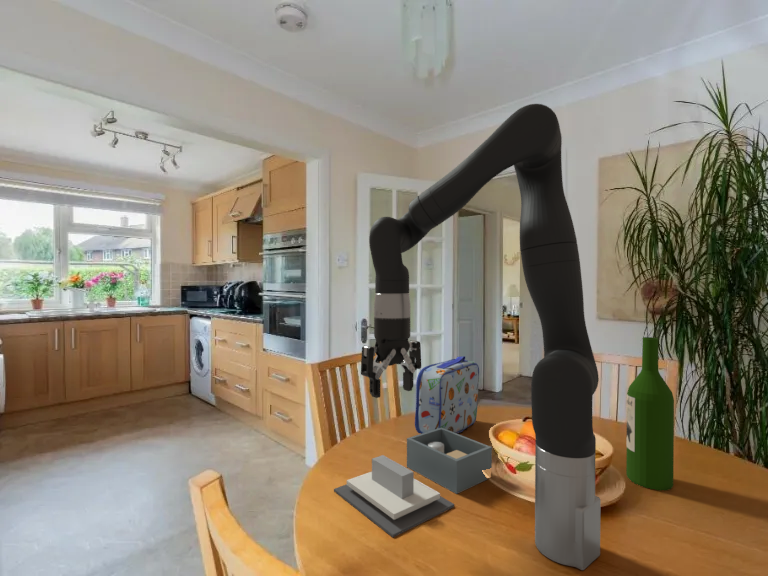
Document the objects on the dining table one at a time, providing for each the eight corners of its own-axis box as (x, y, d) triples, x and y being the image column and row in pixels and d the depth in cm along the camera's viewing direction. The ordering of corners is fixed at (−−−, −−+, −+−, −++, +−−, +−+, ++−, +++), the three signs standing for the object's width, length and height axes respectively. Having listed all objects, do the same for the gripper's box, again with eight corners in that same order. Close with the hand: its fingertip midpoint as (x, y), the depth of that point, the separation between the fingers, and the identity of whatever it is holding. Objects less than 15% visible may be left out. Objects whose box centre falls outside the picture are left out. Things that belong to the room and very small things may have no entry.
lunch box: (454, 414, 137) (454, 350, 137) (483, 421, 131) (483, 353, 131) (410, 439, 115) (410, 363, 115) (442, 448, 109) (442, 367, 109)
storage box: (491, 477, 92) (491, 447, 92) (456, 494, 85) (456, 461, 85) (441, 454, 105) (441, 427, 105) (406, 466, 98) (406, 438, 98)
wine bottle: (620, 470, 96) (621, 334, 96) (661, 473, 94) (663, 336, 94) (635, 488, 88) (636, 340, 87) (681, 492, 86) (683, 341, 85)
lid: (440, 503, 81) (440, 471, 80) (394, 525, 73) (394, 489, 73) (390, 473, 93) (390, 445, 93) (346, 489, 86) (346, 459, 86)
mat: (454, 506, 80) (454, 504, 80) (392, 537, 70) (392, 534, 70) (391, 470, 96) (391, 467, 96) (333, 491, 86) (333, 488, 86)
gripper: (375, 318, 75) (375, 404, 76) (429, 314, 84) (429, 391, 84) (353, 315, 81) (353, 395, 81) (406, 312, 90) (406, 384, 90)
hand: (392, 393), depth 83 cm, fingers open, 8 cm apart
